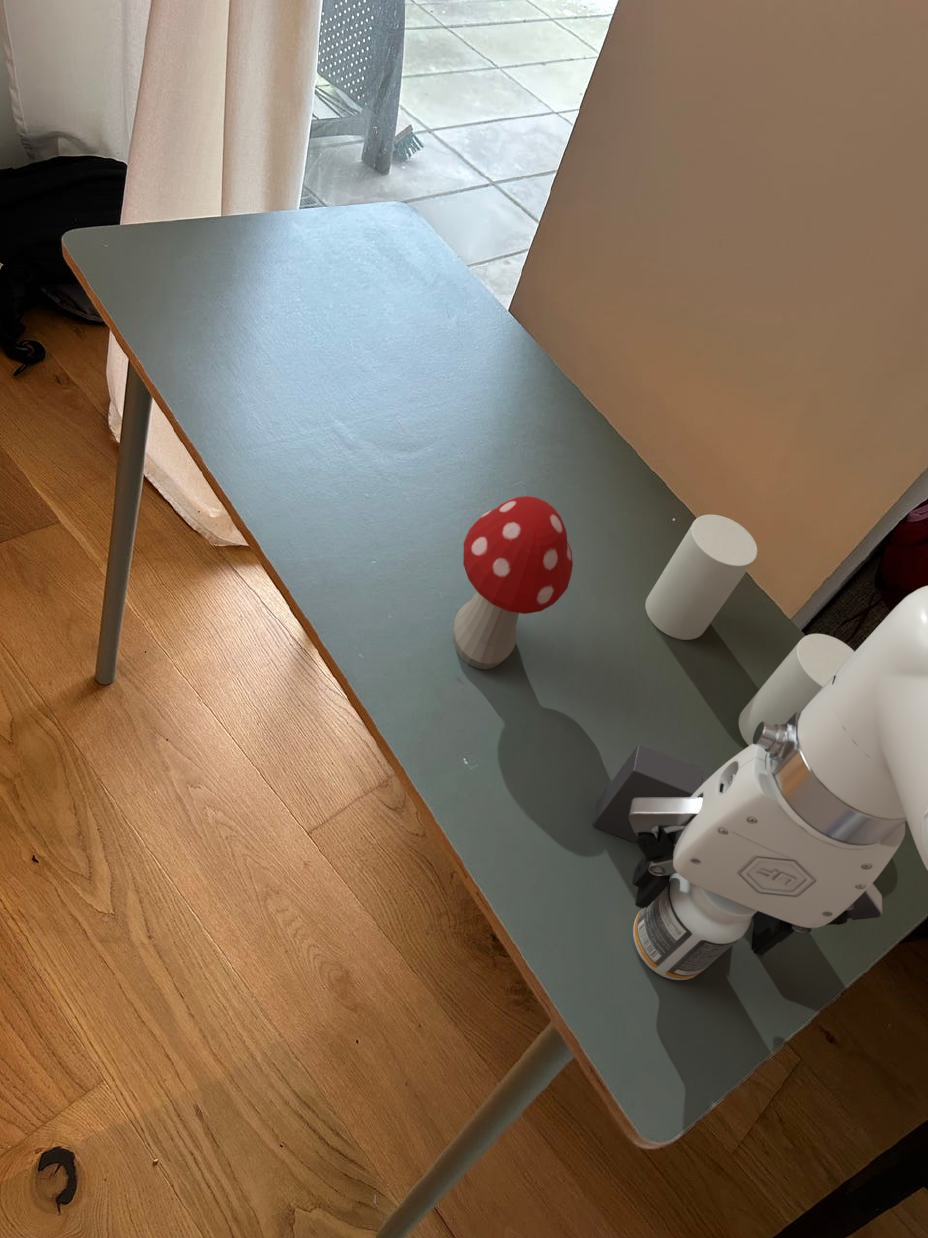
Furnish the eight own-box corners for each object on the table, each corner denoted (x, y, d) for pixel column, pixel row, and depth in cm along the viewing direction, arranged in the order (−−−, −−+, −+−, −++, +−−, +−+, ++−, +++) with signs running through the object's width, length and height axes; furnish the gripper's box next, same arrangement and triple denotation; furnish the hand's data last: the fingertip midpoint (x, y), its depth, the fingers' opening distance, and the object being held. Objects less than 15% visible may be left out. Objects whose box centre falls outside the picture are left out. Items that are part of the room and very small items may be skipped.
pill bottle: (710, 924, 72) (778, 861, 65) (698, 997, 68) (769, 939, 61) (638, 891, 72) (697, 825, 65) (621, 962, 68) (683, 900, 61)
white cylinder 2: (804, 720, 88) (867, 650, 81) (801, 774, 84) (868, 706, 77) (740, 694, 88) (798, 622, 81) (735, 747, 84) (795, 676, 76)
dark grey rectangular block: (658, 824, 77) (704, 769, 71) (654, 851, 75) (700, 797, 69) (597, 800, 77) (638, 743, 71) (592, 826, 75) (633, 770, 69)
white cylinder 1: (708, 604, 94) (759, 530, 87) (702, 649, 90) (755, 575, 83) (649, 580, 94) (695, 504, 87) (640, 624, 90) (688, 548, 83)
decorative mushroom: (524, 701, 81) (590, 578, 70) (421, 672, 80) (472, 542, 69) (535, 611, 88) (597, 486, 77) (440, 584, 87) (489, 453, 76)
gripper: (684, 768, 51) (567, 913, 64) (1000, 894, 51) (819, 1013, 64) (700, 663, 56) (588, 816, 69) (986, 778, 56) (822, 909, 69)
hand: (700, 910), depth 67 cm, fingers open, 7 cm apart
